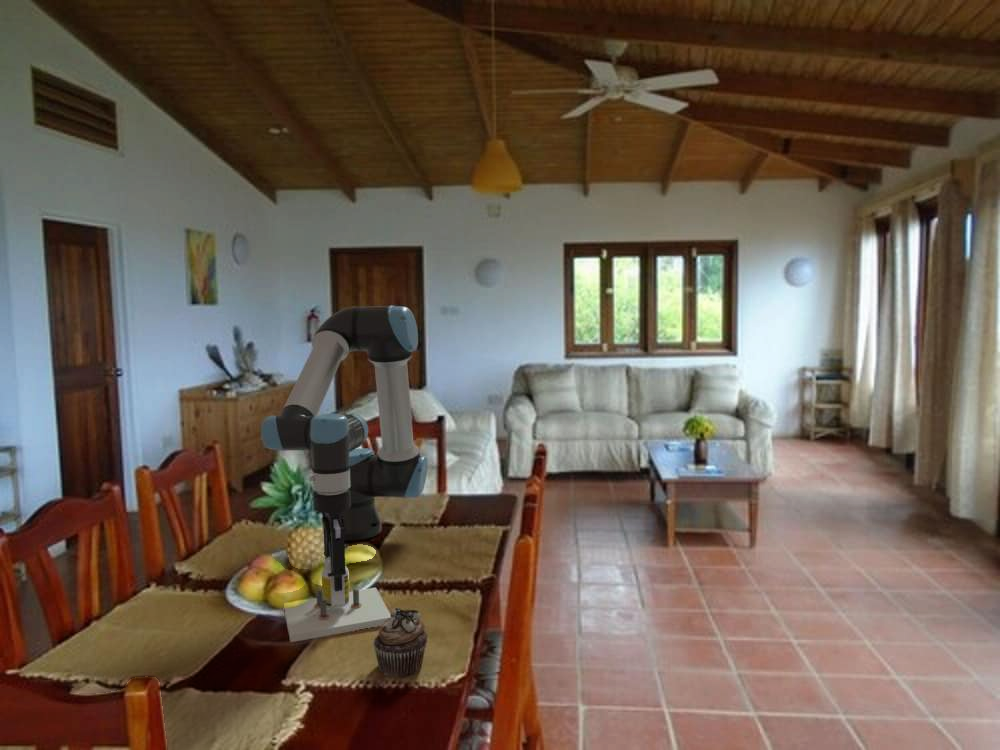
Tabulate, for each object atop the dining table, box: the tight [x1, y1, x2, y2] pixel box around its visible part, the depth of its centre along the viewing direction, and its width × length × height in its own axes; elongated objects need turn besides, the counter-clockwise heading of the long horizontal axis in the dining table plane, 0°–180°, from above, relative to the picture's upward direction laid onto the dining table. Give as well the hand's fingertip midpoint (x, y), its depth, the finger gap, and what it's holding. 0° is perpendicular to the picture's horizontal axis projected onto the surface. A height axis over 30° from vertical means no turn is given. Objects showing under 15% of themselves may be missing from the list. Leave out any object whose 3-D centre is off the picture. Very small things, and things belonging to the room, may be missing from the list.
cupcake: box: [372, 607, 428, 679], centre depth 129 cm, size 10×10×10 cm
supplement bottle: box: [321, 557, 350, 609], centre depth 149 cm, size 5×5×10 cm
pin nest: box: [284, 587, 391, 643], centre depth 150 cm, size 16×20×5 cm
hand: (335, 598), depth 150 cm, fingers open, 6 cm apart
